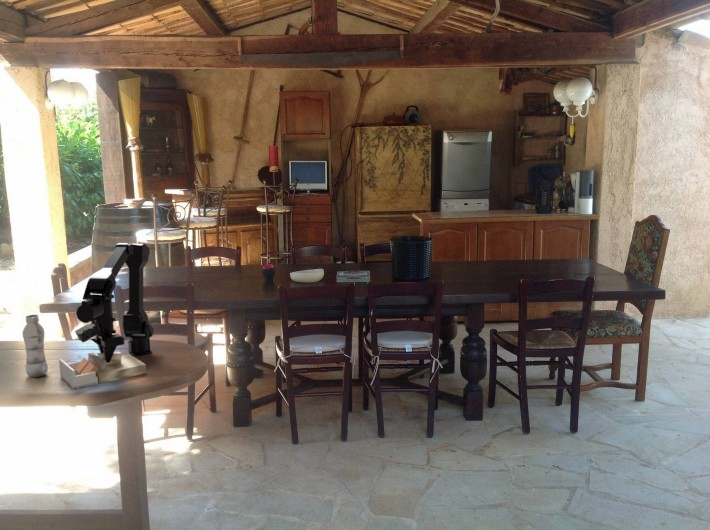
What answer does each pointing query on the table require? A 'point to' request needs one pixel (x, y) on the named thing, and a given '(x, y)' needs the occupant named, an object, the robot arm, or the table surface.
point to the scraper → (100, 359)
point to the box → (76, 375)
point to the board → (121, 369)
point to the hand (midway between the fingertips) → (106, 361)
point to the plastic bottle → (34, 347)
